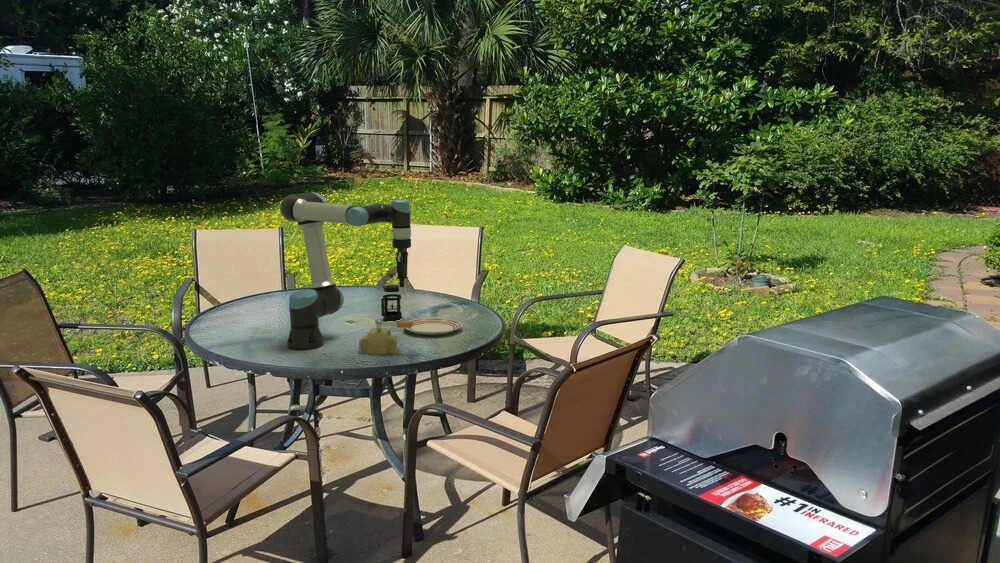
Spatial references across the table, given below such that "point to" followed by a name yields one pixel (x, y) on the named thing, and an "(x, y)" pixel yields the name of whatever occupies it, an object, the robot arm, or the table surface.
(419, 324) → the dinner plate
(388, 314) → the french press
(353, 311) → the table surface
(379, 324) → the valve lever
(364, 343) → the valve pipe
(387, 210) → the robot arm
